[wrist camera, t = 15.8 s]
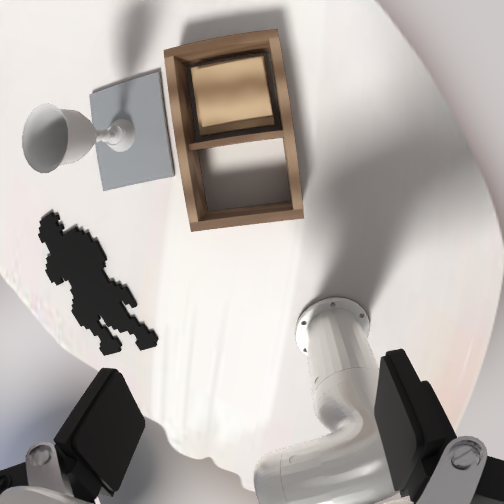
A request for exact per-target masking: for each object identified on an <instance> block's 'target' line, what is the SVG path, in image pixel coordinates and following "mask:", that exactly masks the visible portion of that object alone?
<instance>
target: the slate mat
mask: <svg viewBox="0 0 504 504" xmlns="http://www.w3.org/2000/svg"><path fill="white" fill-rule="evenodd" d="M90 105H91V114H92V123H93V126H94V127H95V129H96V130H101V131H102V130H103V129H107V128H108V127H109V126H110V125H111V124H112V123H113V122H114V121H116V120H118V119H126V120H128V121H130V122H131V123H132V124H133V126H134V128H135V140H134V143H133V144H132V146H131V147H130V148H129V149H128V150H126V151H123V152H117V151H114V150H113V149H111V148H110V147H109V146H108V145H107V143H106V142H103V141H99V142H95V145H96V152H97V158H98V164H99V170H100V176H101V181H102V186H103V191H106V190H111V189H115V188H119V187H124V186H128V185H133V184H138V183H142V182H147V181H152V180H157V179H162V178H167V177H173V176H175V174H174V168H173V162H172V156H171V150H170V143H169V137H168V130H167V123H166V116H165V109H164V101H163V94H162V86H161V77H160V73H159V72H156V73H152V74H149V75H145V76H142V77H139V78H136V79H132V80H129V81H126V82H123V83H120V84H117V85H114V86H112V87H109V88H106V89H103V90H101V91H98V92H95V93H93V94H90Z"/></svg>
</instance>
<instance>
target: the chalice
mask: <svg viewBox="0 0 504 504" xmlns="http://www.w3.org/2000/svg"><path fill="white" fill-rule="evenodd" d="M134 140H135V128H134V126H133V124H132V123H131V122H130V121H128V120H126V119H118V120H116V121H114V122H113V123H112V124H111V125H110V126H109V127H108V128H107V129H103V130H102V131H101V130H96V129H95V127H94V126H93V124H92V123H91V122H90V120H89V119H87V118H86V117H85V116H84V115H82V114H81V113H80V112H78V111H74V110H64V109H59V108H57V107H56V106H55V105H52V104H43V105H40V106H38V107H37V108H35V109H34V110H33V111H32V112H31V114H30V115H29V116H28V118H27V121H26V123H25V125H24V129H23V135H22V147H23V151H24V155H25V158H26V160H27V162H28V164H29V165H30V166H31V167H32V168H33V169H34V170H36V171H38V172H40V173H49V172H51V171H53V170H55V169H56V168H57V167H58V166H59V165H64V164H69V163H74V162H76V161H78V160H80V159H81V158H82V157H83V156H85V155H86V154H87V153H88V152H89V151H90V149H91V148H92V146H93V145H94V144H95V142H99V141H103V142H106V143H107V145H108V146H109V147H110V148H111V149H113V150H114V151H117V152H123V151H126V150H128V149H129V148H130V147H131V146H132V144H133V143H134Z"/></svg>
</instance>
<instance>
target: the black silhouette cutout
mask: <svg viewBox="0 0 504 504" xmlns="http://www.w3.org/2000/svg"><path fill="white" fill-rule="evenodd" d="M58 220H60V218H59V215H56V216H54V213H53V212H52V213H50V214H49V215H47V216H46V217H45V218H43V219H42V220H41V221H39V222H40V224H41V227H39V230H40V232H41V233H39V234H38V236H39V238H40V240H41V242H42V243H44V242H45V243H46V245H47V247H48V249H49V251H50V253H51V255H50V256H49V257H47V258H46V260H47V262H48V263H47V264H45V265H46V267H47V269H46V270H45V271H46V273H47V275H48V277H49V279H50V281H51V283H53V282H55V284H56V285H59V284H61V283H63V282H64V281H63V279H62V277H63V278H64V280H65V281H67V280H68V281H69V283H70V284H71V286H72V289H71V290H70V291H71V293H72V295H73V296H74V299H72V301H73V303H74V304H72V307H73V309H72V310H71V311H72V313H73V315H74V316H75V318H76V320H77V321H78V323H79V324H80V326H84V327H85V328H86V329H90V330H91V332H92V333H93V335H94V336H97V335H98V337H99V338H100V340H101V341H102V342H101V343H100V345H101V347H100V348H99V349H100V351H101V352H102V353H103V355H104V356H105V355H109V354H113V353H117V352H120V351H121V348H120V347H121V346H122V344H121V342H120V341H119V339H118V338H117V337H116V338H113V336H112V335H111V333H110V332H109V330H108V329H107V327H102V326H101V324H100V322H99V321H98V320H100V319H101V318H100V316H99V315H101V317H102V318H103V320H104V322H105V323H106V325H107V326H108V327H110V326H112V328H113V329H114V330H116V329H118V330H119V332H120V333H122V332H125V331H128V332H129V334H130V335H131V334H134V335H135V336H136V338H137V339H138V341H136V342H135V343H136V345H137V346H138V348H139V349H140V351H141V350H145V349H148V348H152V347H156V345H157V343H156V341H158V338H157V336H156V334H155V333H154V331H151V332H149V331H148V329H147V328H146V326H145V325H144V324H142V325H140V324H139V323H138V321H137V319H136V318H135V317H132V318H131V317H130V316H129V314H128V312H127V311H126V309H125V307H124V306H123V304H122V302H121V301H123V302H124V304H125V305H127V304H130V306H131V307H132V308H134V307H136V306H137V303H136V302H135V300H134V298H133V296H132V295H131V293H130V291H129V289H128V288H127V287H125V288H123V287H122V286H121V284H118V285H116V284H115V282H114V281H112V282H110V281H109V280H108V278H107V276H106V274H105V272H104V270H103V268H105V267H106V265H105V263H104V262H105V261H106V260H107V258H106V256H105V254H104V252H103V250H102V248H101V247H100V245H99V243H98V241H97V240H96V241H95V242H93V240H92V238H91V236H90V234H89V232H88V233H87V234H85V233H84V231H83V230H81V231H79V230H78V228H77V227H76V228H74V229H72V230H71V231H69V232H68V233H66V234H64V235H63V233H62V230H63V229H65V228H64V226H63V224H61V225H59V224H58V222H57V221H58Z"/></svg>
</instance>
